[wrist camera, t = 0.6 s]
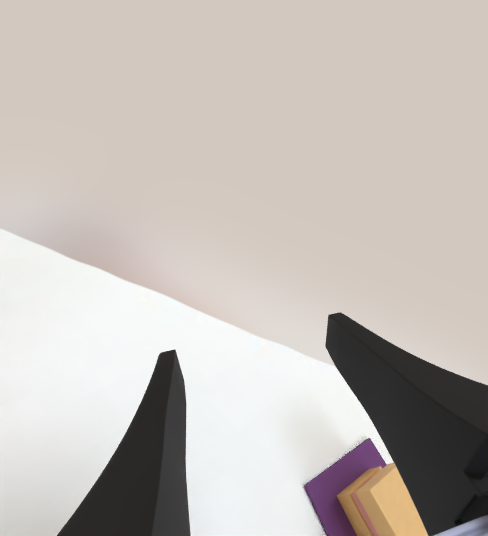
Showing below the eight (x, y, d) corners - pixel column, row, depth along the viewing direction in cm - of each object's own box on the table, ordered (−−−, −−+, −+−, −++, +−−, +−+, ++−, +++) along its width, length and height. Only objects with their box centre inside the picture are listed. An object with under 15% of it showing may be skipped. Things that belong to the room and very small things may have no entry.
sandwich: (427, 569, 24) (478, 575, 21) (396, 613, 22) (448, 628, 18) (368, 468, 28) (402, 460, 25) (336, 495, 26) (369, 489, 23)
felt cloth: (455, 578, 25) (458, 579, 25) (394, 678, 20) (397, 680, 19) (368, 438, 31) (369, 437, 31) (303, 485, 26) (305, 485, 26)
